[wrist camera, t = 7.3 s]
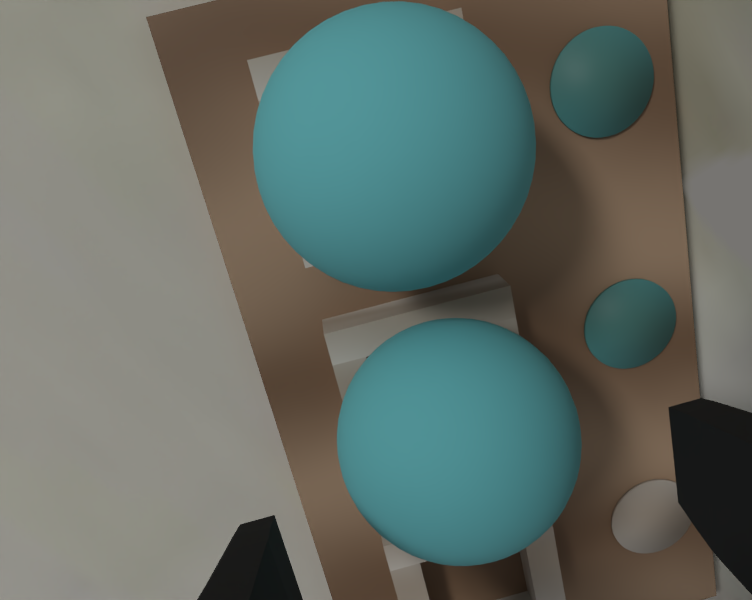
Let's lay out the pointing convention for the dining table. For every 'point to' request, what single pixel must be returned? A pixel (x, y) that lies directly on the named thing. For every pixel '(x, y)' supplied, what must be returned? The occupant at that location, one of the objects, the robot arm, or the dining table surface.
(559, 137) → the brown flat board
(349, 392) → the teal ball
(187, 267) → the dining table surface
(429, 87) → the teal ball
